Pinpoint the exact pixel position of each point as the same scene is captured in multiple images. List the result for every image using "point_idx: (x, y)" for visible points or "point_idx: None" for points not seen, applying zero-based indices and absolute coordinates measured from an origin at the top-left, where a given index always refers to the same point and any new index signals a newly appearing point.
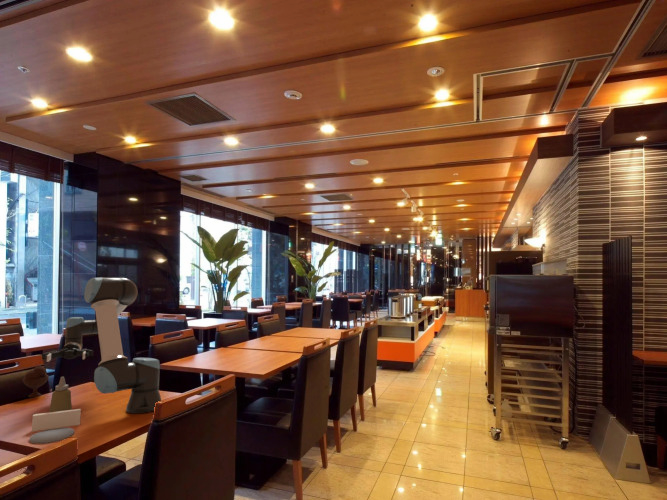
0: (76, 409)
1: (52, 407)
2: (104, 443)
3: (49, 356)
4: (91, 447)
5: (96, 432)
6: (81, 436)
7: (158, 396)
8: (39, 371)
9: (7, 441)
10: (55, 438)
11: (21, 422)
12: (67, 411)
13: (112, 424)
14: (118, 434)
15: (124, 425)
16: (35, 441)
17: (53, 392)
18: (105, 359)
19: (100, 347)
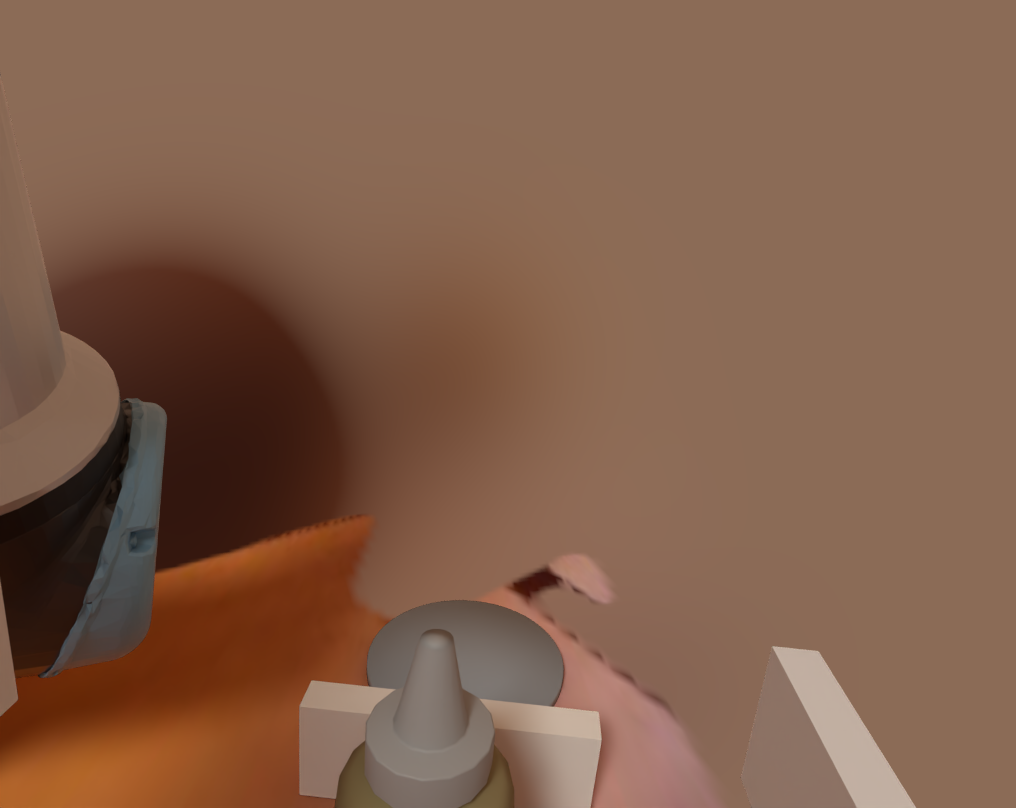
0: (330, 702)
1: None
2: (301, 530)
3: (794, 735)
4: (348, 525)
5: (280, 620)
6: (350, 610)
7: None
8: None
9: (663, 707)
10: (454, 608)
11: None
12: (391, 690)
13: (160, 677)
14: (220, 566)
15: None
16: (529, 620)
17: (504, 773)
18: (81, 347)
19: (27, 246)
